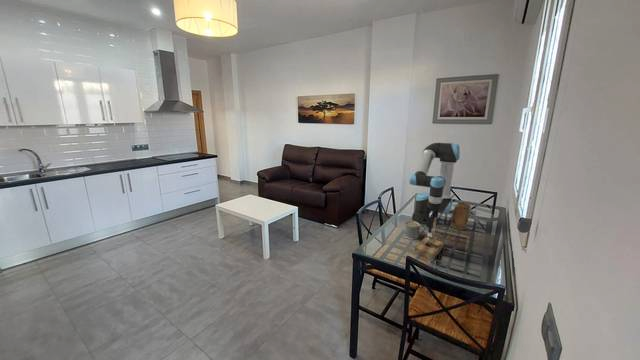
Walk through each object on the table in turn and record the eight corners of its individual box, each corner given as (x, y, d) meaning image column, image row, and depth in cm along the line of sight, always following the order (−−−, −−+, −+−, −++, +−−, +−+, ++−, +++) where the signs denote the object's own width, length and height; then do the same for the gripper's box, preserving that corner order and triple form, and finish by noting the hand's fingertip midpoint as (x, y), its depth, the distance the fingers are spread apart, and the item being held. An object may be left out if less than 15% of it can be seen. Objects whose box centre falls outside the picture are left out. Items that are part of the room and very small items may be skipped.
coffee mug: (402, 237, 187) (403, 224, 184) (406, 231, 195) (407, 219, 192) (421, 242, 180) (422, 229, 177) (424, 236, 187) (425, 223, 184)
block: (467, 227, 198) (471, 204, 192) (465, 231, 193) (469, 207, 187) (452, 224, 205) (455, 200, 199) (449, 227, 199) (453, 204, 193)
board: (414, 252, 168) (415, 247, 166) (425, 241, 180) (425, 236, 179) (433, 259, 160) (434, 254, 159) (442, 247, 172) (443, 242, 171)
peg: (425, 242, 168) (428, 217, 163) (427, 239, 171) (430, 215, 166) (432, 244, 165) (435, 219, 160) (434, 241, 168) (437, 217, 163)
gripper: (436, 207, 151) (432, 242, 158) (445, 199, 163) (441, 232, 170) (423, 204, 156) (420, 238, 163) (433, 196, 168) (429, 228, 175)
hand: (430, 235), depth 166 cm, fingers closed on peg, 4 cm apart
